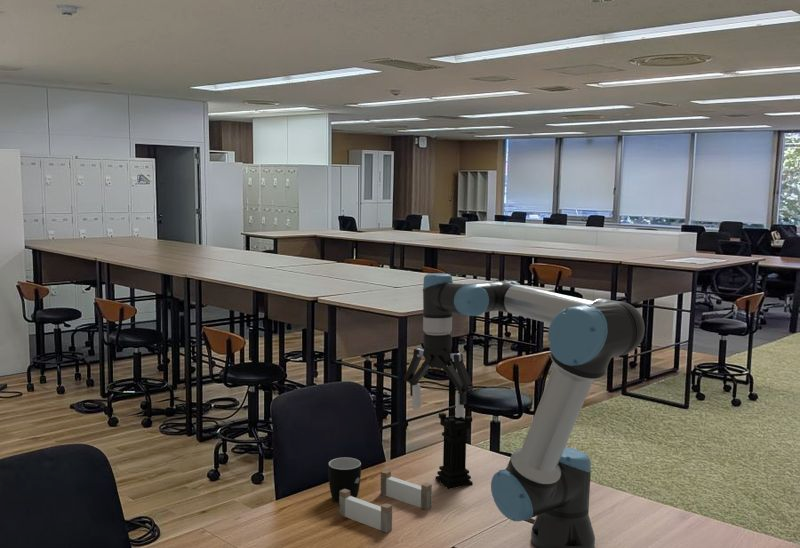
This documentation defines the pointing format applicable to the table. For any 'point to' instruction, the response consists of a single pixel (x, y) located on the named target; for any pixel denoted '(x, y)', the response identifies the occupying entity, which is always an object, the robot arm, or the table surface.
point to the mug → (344, 476)
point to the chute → (383, 514)
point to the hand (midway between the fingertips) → (437, 412)
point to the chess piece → (454, 452)
